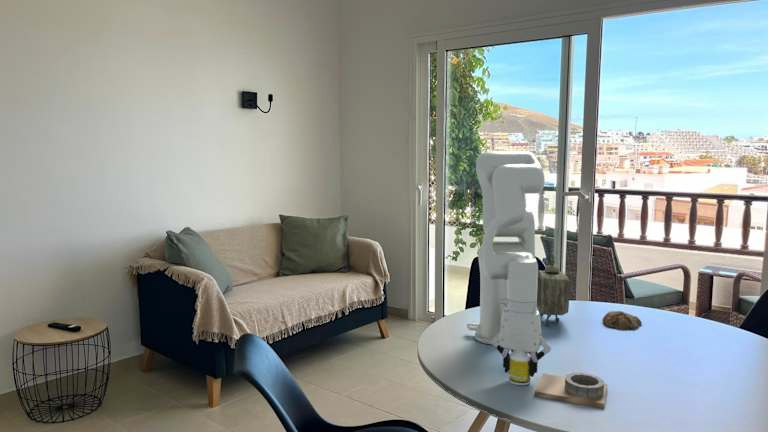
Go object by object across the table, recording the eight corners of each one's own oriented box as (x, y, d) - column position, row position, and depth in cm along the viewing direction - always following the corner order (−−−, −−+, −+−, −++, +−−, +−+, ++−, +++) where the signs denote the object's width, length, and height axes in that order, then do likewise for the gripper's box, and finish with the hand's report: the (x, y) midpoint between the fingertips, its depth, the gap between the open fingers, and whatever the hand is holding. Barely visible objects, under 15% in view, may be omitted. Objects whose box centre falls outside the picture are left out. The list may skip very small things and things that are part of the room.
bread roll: (606, 317, 200) (607, 304, 199) (643, 324, 192) (644, 310, 192) (597, 326, 189) (597, 312, 189) (635, 333, 182) (636, 319, 181)
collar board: (534, 395, 135) (534, 381, 135) (542, 377, 146) (542, 364, 146) (604, 408, 128) (604, 393, 128) (607, 388, 139) (607, 374, 139)
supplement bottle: (530, 386, 140) (532, 350, 139) (509, 385, 142) (510, 348, 140) (529, 378, 146) (530, 342, 145) (508, 376, 147) (509, 341, 146)
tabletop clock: (535, 315, 202) (537, 248, 199) (561, 316, 200) (563, 248, 198) (541, 327, 187) (543, 255, 185) (568, 328, 186) (571, 256, 183)
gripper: (485, 305, 141) (483, 372, 144) (554, 313, 134) (551, 384, 136) (492, 298, 148) (490, 362, 150) (558, 305, 141) (556, 373, 143)
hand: (519, 372), depth 143 cm, fingers open, 5 cm apart
